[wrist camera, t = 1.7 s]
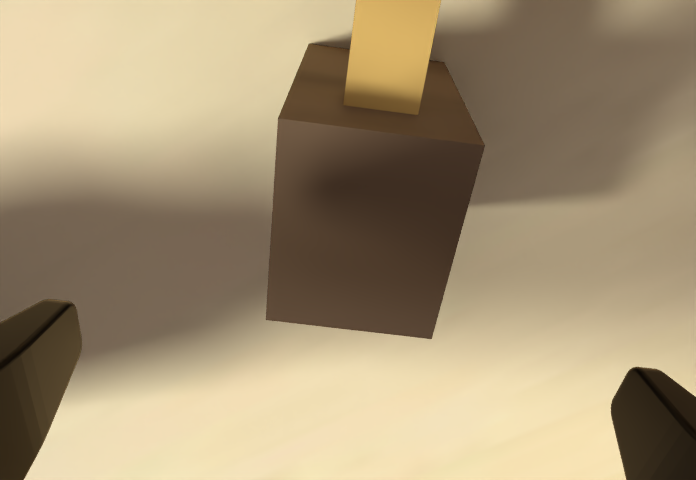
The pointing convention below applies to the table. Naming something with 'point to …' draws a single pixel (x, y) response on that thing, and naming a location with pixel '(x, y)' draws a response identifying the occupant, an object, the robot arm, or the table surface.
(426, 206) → the mallet
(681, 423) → the robot arm
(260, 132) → the table surface
